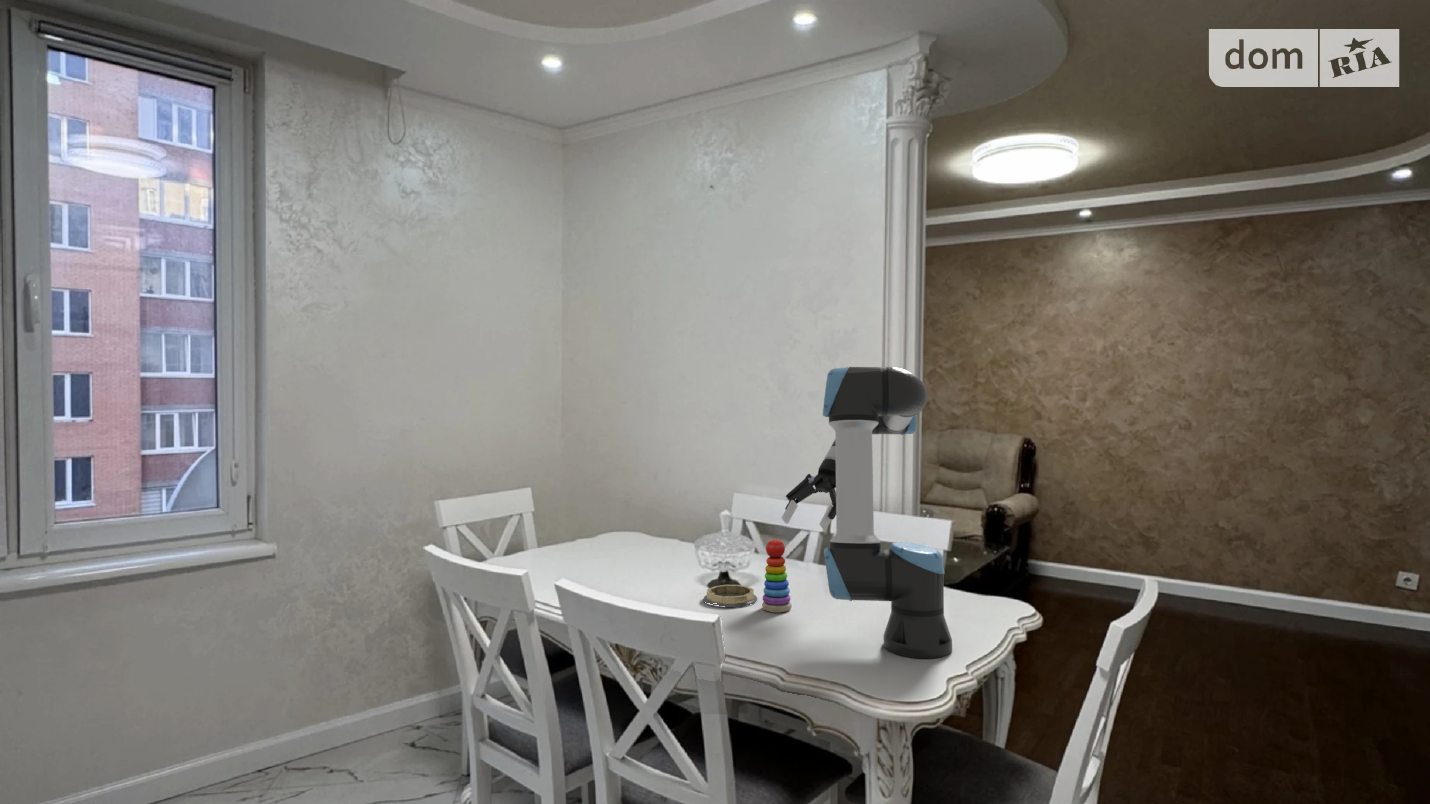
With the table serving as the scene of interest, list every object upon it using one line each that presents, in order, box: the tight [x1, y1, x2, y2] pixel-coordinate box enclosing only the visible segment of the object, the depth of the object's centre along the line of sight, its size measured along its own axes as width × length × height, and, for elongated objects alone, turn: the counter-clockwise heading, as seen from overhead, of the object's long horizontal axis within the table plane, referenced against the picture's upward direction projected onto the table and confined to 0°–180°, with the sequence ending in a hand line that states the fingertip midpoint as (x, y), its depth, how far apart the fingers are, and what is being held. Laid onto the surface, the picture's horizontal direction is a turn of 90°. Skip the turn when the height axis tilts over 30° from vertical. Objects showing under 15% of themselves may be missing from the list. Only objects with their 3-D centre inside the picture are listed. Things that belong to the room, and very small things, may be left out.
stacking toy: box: [761, 538, 793, 613], centre depth 203 cm, size 8×8×19 cm
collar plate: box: [703, 584, 758, 608], centre depth 213 cm, size 15×15×3 cm
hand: (803, 524), depth 212 cm, fingers open, 13 cm apart
